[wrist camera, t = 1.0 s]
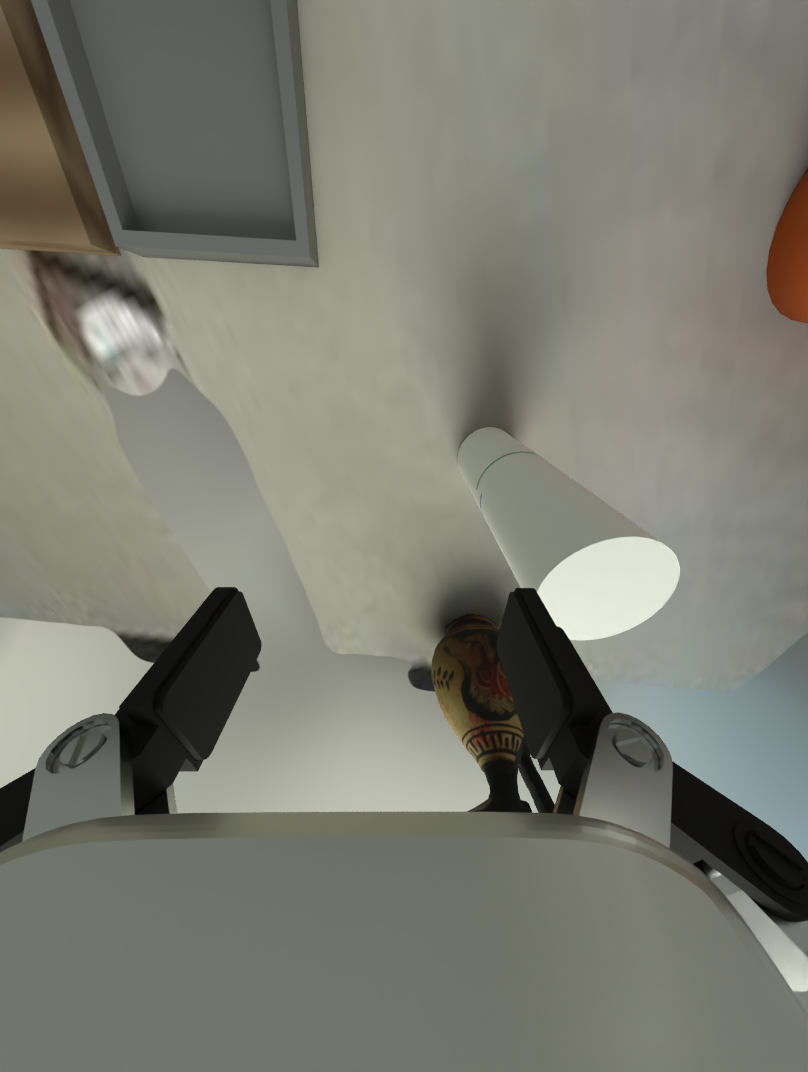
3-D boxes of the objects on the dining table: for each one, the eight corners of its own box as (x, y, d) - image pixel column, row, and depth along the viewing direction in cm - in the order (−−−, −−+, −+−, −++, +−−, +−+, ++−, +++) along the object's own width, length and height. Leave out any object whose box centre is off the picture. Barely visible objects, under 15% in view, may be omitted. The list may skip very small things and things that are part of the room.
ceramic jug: (416, 651, 56) (428, 896, 31) (446, 594, 49) (497, 857, 23) (495, 667, 59) (566, 904, 33) (535, 616, 51) (668, 871, 26)
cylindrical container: (458, 487, 39) (529, 645, 17) (455, 431, 35) (540, 546, 14) (513, 479, 38) (655, 633, 17) (516, 422, 34) (703, 527, 13)
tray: (35, -86, 18) (-24, -159, 16) (291, -63, 19) (274, -130, 16) (143, 256, 27) (115, 246, 24) (318, 267, 27) (310, 257, 25)
